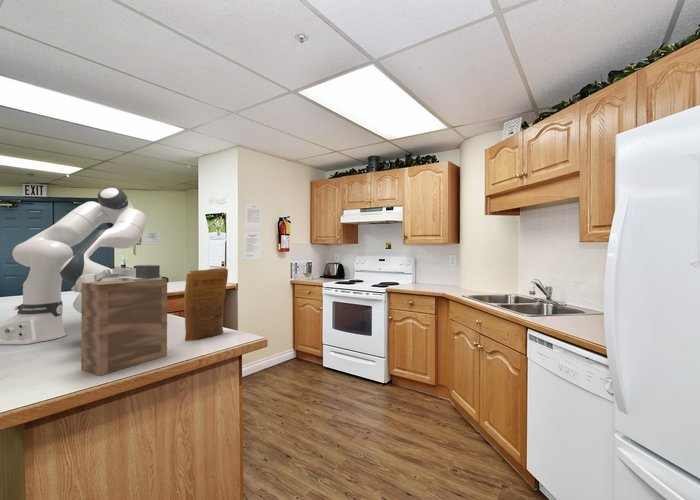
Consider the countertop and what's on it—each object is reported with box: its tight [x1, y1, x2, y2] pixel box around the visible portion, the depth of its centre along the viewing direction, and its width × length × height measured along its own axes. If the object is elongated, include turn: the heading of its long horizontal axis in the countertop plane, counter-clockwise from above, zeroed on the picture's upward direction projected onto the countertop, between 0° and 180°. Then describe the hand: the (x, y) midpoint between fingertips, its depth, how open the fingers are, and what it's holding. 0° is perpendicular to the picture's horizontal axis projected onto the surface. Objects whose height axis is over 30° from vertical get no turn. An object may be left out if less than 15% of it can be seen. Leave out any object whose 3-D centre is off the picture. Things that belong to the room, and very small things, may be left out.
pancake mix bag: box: [183, 267, 229, 341], centre depth 132 cm, size 7×19×28 cm, turn 142°
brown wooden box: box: [80, 276, 168, 377], centre depth 103 cm, size 10×20×27 cm, turn 153°
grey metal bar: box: [111, 264, 161, 279], centre depth 108 cm, size 21×4×4 cm, turn 63°
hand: (123, 270), depth 111 cm, fingers open, 8 cm apart
